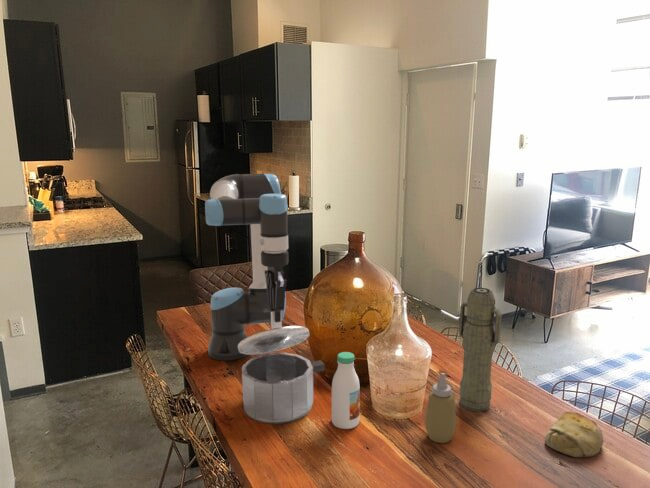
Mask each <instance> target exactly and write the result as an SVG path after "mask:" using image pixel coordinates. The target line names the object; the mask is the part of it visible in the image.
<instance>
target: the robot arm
mask: <svg viewBox="0 0 650 488" xmlns="http://www.w3.org/2000/svg"><path fill="white" fill-rule="evenodd" d="M209 196H210V199H206V201H205V202H204V206H205V207H204V212H205V223H206V225H208V226H216V227H220V226H221V227H222V226H236V225H237V226H239V225H243V226H244V225H250V239H251V241H250V242H251V261H252V262H251V263H252V266H251V267H252V283H251V284H250V285H249V287H248V290H249V291H246V292H245V291H244V289H243V288H241V287H236V286H235V287H227V288H223V289H220V290H218V291H216V292H214V293H213V294H212V296H211V298H210V309H209V310H210V313H211V316H210V317H211V332H212V333H211V337H210V340H209V343H208V347H207V351H208V353H207V355H208V357H210V358H211V359H213V360H217V361H223V362H224V361H229V362H230V361H236V360H240V359H243V358H245V357H247V356H248V354H242V353H240V352H239V351H238V344H239V343H240V342H241V341H242V340H244V339H245V338H247V337H248V336H247V333H246V330H245V325H246V326H247V325H258V324H259V325H260V324H270V326H271V327H270V329H274V328H279V327H283V323H282V321H283V320H284V317H285V313H286V303H287V299H286V298H287V297H286V296H287V295H286V294H287V293H286V287H287V282H288V281H287V279H284V278H285V271H283V267H284V266H287V265H288V264H289V251H288V250H289V233H288V229H289V228H288V225H289V224H288V209H289V205H288V198H287V196H286V194H283V193H282V192H281V186H280V181H279V179H278V177H277V175H275V174H273V173H244V174H243V173H242V174H239V173H235V174H230V175H226V176H224V177H221V178H220V179H218V180H217V181H215V182H214V183H213V184H212V185H211V188H210V190H209Z"/></svg>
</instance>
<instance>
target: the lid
mask: <svg viewBox="0 0 650 488" xmlns="http://www.w3.org/2000/svg"><path fill="white" fill-rule="evenodd" d="M309 337H310V331H309V329H308V328H307V327H306V326H302V325H301V326H300V325H289V326H282V327H279V328H274V329H271V328H270V329H266V330H263V331H259V332H257V333H254V334H252V335H250V336H247V338H245V339H244V340H242V341H241V342H240V343H239V344H238V351H239V352H240V353H242V354H248V355H250V356H251V355H258V356H260V355H263V354H271V353H277V352H278V351H281V350H282V351H283V350H285V349H289V348H291V347H294V346H297V345H299V344H302V342H304V341H305V340H307V339H308V338H309ZM248 355H247V356H248Z"/></svg>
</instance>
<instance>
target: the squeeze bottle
mask: <svg viewBox="0 0 650 488" xmlns="http://www.w3.org/2000/svg"><path fill="white" fill-rule="evenodd" d="M455 400H456V398H455V395H454V394H453V393H452V386H450V385H449V384H448V382H447V378H446V373H443V372H441V373H440V375H439V378H438V382H437V383H434V384H433V385H432V391H431V392H430V393H429V395H428V400H427V405H426V406H427V407H426V411H425V412H426V413H425V418H424V426H425V429H426V433H427V437H428V438H429V439H430V440H431V441H433V442H434V443H439V444H445V443H449V442H450V441H451V440H452V438H453V435H454V433H455V432H456V428H457V418H456V417H457V416H456V401H455Z"/></svg>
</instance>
